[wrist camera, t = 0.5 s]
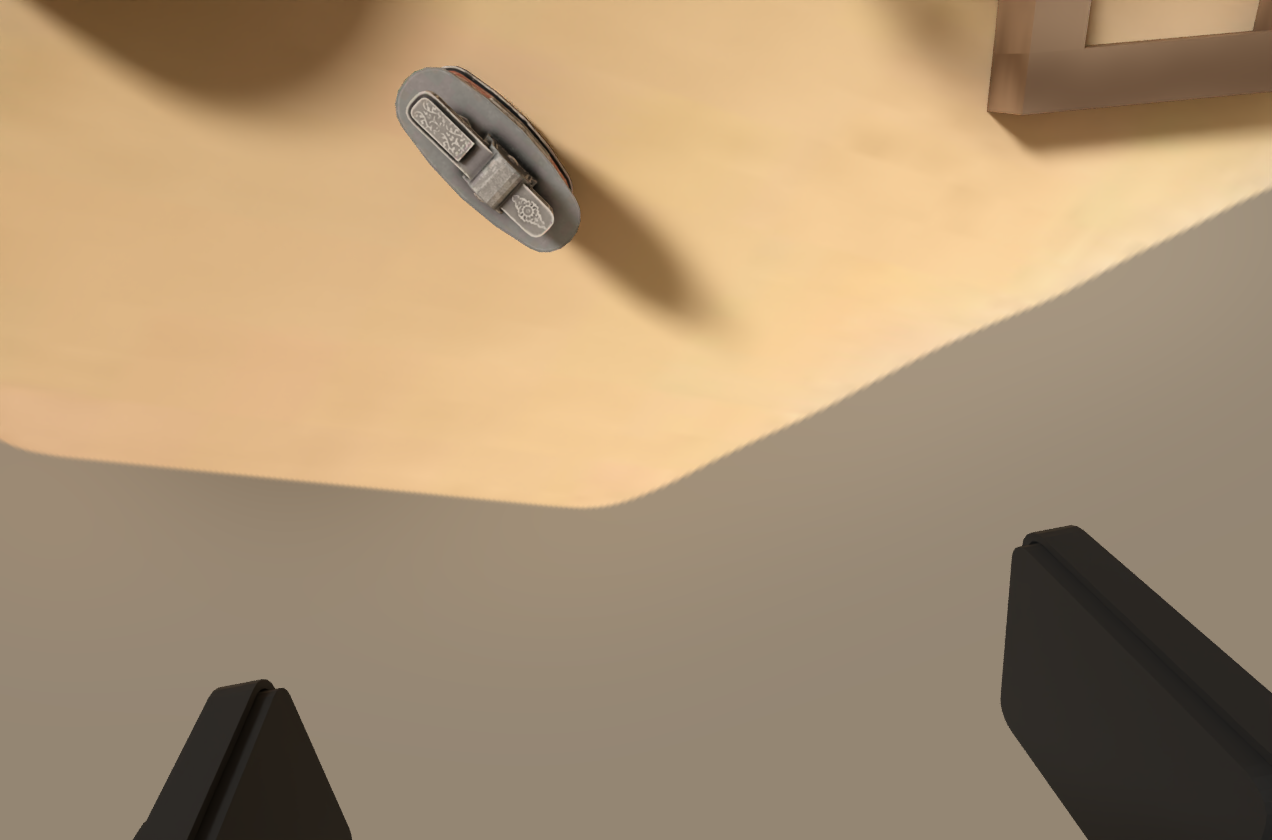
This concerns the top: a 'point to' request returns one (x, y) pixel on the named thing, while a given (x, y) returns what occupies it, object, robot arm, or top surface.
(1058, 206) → the top surface
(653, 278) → the top surface
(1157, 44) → the wooden compartment tray
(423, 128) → the lighter
